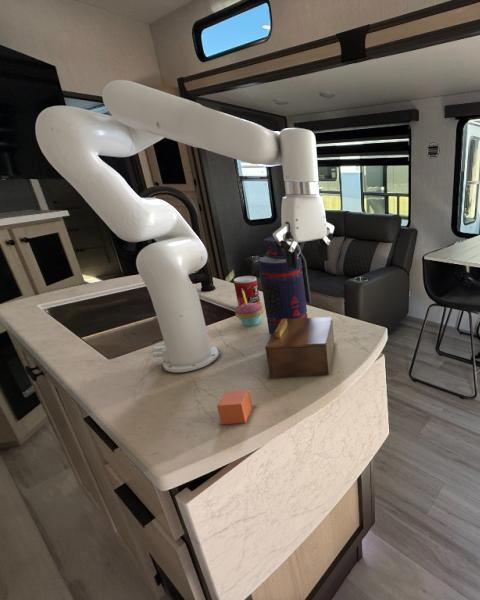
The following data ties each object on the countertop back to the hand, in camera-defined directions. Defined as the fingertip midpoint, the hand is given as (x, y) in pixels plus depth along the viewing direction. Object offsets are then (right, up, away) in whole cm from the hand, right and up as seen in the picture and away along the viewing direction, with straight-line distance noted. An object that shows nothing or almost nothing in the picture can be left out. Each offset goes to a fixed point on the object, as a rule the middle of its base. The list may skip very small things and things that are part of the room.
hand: (309, 263), depth 78 cm
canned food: (-36, -11, +44) cm, 58 cm away
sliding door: (-3, -17, +4) cm, 18 cm away
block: (-11, -33, -14) cm, 37 cm away
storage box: (-3, -25, +7) cm, 26 cm away
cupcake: (-28, -17, +29) cm, 44 cm away
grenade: (-12, -19, +23) cm, 32 cm away
